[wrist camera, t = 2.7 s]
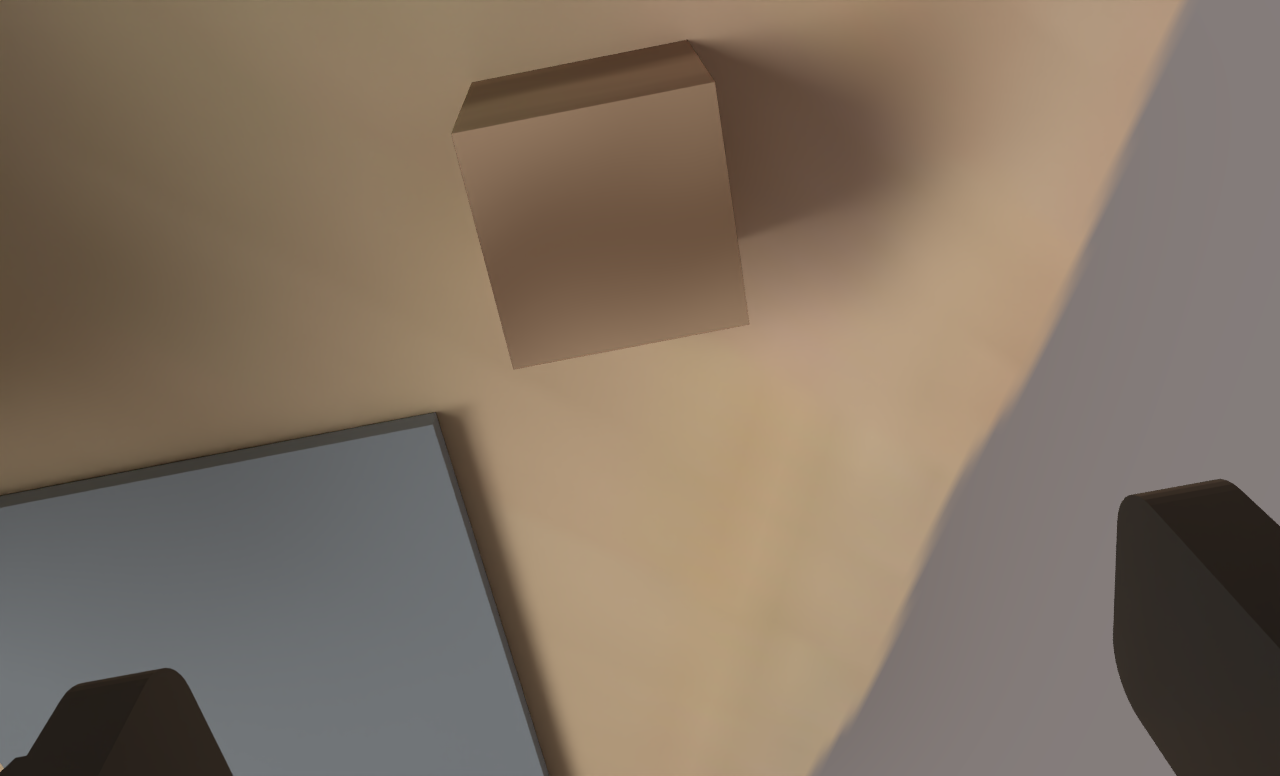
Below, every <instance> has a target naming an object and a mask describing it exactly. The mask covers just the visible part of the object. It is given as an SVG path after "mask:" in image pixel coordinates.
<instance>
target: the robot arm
mask: <svg viewBox="0 0 1280 776" xmlns="http://www.w3.org/2000/svg"><path fill="white" fill-rule="evenodd" d="M1113 644H1114V653H1115V659H1116V664H1117V668H1118V672H1119V676H1120V679H1121V682H1122V685H1123V688H1124V690H1125V693H1126V695H1127V698H1128V700H1129V702H1130V704H1131V706H1132V708H1133V710H1134V712H1135V713H1136V715H1137V716H1138V718H1139V720H1140V721H1141V723H1142V724H1143V726H1144V727H1145V729H1146V730H1147V732H1148V733H1149V735H1150V736H1151V738H1152V739H1153V741H1154V742H1155V744H1156V745H1157V747H1158V748H1159V750H1160V751H1161V753H1162V754H1163V756H1164V757H1165V759H1166V760H1167V762H1168V763H1169V765H1170V766H1171V768H1172V769H1173V771H1174V772H1175V774H1176V775H1177V776H1280V526H1279V525H1278V524H1277V523H1276V522H1275V521H1273V519H1271V518H1270V517H1269V516H1268V515H1267V514H1266V513H1265V512H1264V511H1263V510H1262V509H1261V508H1260V507H1259V506H1257V505H1256V504H1255V503H1254V502H1253V501H1252V500H1251V499H1250V498H1249V497H1248V496H1247V495H1246V494H1245V493H1244V492H1243V491H1241V490H1240V489H1239V488H1238V487H1237V486H1235V485H1234V484H1233V483H1231V482H1229V481H1227V480H1223V479H1217V480H1211V481H1205V482H1200V483H1194V484H1189V485H1183V486H1178V487H1172V488H1167V489H1161V490H1156V491H1151V492H1145V493H1140V494H1134V495H1129V496H1127V497H1125V499H1124V500H1123V501H1122V503H1121V505H1120V508H1119V512H1118V521H1117V544H1116V572H1115V599H1114V626H1113ZM0 776H233V774H232V772H231V770H230V768H229V766H228V764H227V762H226V760H225V758H224V756H223V754H222V752H221V750H220V748H219V746H218V744H217V742H216V740H215V738H214V736H213V734H212V732H211V730H210V728H209V726H208V724H207V722H206V720H205V718H204V716H203V714H202V712H201V709H200V707H199V705H198V703H197V701H196V699H195V697H194V695H193V693H192V691H191V689H190V687H189V686H188V684H187V682H186V680H185V679H184V678H183V677H182V676H181V674H179V673H178V672H177V671H175V670H173V669H171V668H161V669H156V670H150V671H145V672H139V673H134V674H128V675H123V676H117V677H112V678H106V679H101V680H95V681H90V682H84V683H80V684H77V685H75V686H73V687H72V688H70V689H69V690H68V691H67V692H66V693H65V695H64V696H63V697H62V699H61V700H60V702H59V703H58V705H57V707H56V708H55V710H54V712H53V713H52V715H51V716H50V718H49V720H48V721H47V723H46V725H45V726H44V728H43V730H42V731H41V733H40V734H39V736H38V738H37V739H36V741H35V743H34V744H33V746H32V748H31V749H30V751H29V753H28V754H27V756H22V757H16V758H14V759H13V760H12V761H11V762H10V763H9V764H8V765H7V766H6V767H5V768H4V769H3V770H2V771H1V772H0Z"/></svg>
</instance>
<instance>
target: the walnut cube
mask: <svg viewBox="0 0 1280 776" xmlns="http://www.w3.org/2000/svg"><path fill="white" fill-rule="evenodd" d="M451 135H452V139H453V143H454V146H455V150H456V154H457V158H458V162H459V165H460V169H461V173H462V177H463V180H464V184H465V188H466V192H467V196H468V199H469V203H470V207H471V211H472V214H473V218H474V222H475V226H476V230H477V233H478V237H479V241H480V245H481V249H482V252H483V256H484V260H485V264H486V267H487V271H488V275H489V279H490V283H491V286H492V290H493V294H494V298H495V301H496V305H497V309H498V313H499V317H500V320H501V324H502V328H503V332H504V335H505V339H506V343H507V347H508V351H509V354H510V358H511V362H512V366H513V369H519V368H524V367H529V366H534V365H540V364H545V363H550V362H555V361H561V360H566V359H571V358H576V357H581V356H587V355H592V354H597V353H602V352H608V351H613V350H618V349H623V348H629V347H634V346H639V345H644V344H650V343H655V342H660V341H665V340H671V339H676V338H681V337H686V336H692V335H697V334H702V333H707V332H713V331H718V330H723V329H728V328H733V327H739V326H744V325H749V324H750V323H749V316H748V309H747V302H746V295H745V289H744V282H743V275H742V268H741V261H740V254H739V247H738V240H737V233H736V226H735V219H734V212H733V205H732V198H731V191H730V184H729V177H728V170H727V163H726V156H725V149H724V142H723V135H722V128H721V121H720V114H719V107H718V100H717V93H716V86H715V81H714V80H713V78H712V77H711V75H710V74H709V72H708V71H707V69H706V68H705V66H704V65H703V63H702V61H701V60H700V58H699V57H698V55H697V54H696V52H695V51H694V49H693V48H692V46H691V45H690V43H689V42H688V40H684V41H679V42H674V43H669V44H664V45H659V46H654V47H649V48H644V49H639V50H634V51H628V52H623V53H618V54H613V55H608V56H603V57H598V58H593V59H588V60H583V61H578V62H573V63H568V64H563V65H558V66H553V67H548V68H543V69H538V70H533V71H528V72H523V73H517V74H512V75H507V76H502V77H497V78H492V79H487V80H482V81H477V82H472V84H471V86H470V89H469V91H468V94H467V96H466V98H465V101H464V103H463V106H462V108H461V111H460V113H459V116H458V118H457V121H456V123H455V126H454V128H453V131H452V133H451Z"/></svg>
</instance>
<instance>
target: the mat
mask: <svg viewBox="0 0 1280 776" xmlns="http://www.w3.org/2000/svg"><path fill="white" fill-rule="evenodd" d="M161 668H171V669H173V670H175V671H177V672H178V673H179V674H181V676H182V677H183V678H184V679H185V680H186V682H187V684H188V686H189V687H190V689H191V691H192V693H193V695H194V697H195V699H196V701H197V703H198V705H199V707H200V709H201V712H202V714H203V716H204V718H205V720H206V722H207V724H208V726H209V728H210V730H211V732H212V734H213V736H214V738H215V740H216V742H217V744H218V746H219V748H220V750H221V752H222V754H223V756H224V758H225V760H226V762H227V764H228V766H229V768H230V770H231V772H232V774H233V776H549V774H548V770H547V767H546V764H545V761H544V758H543V754H542V751H541V748H540V745H539V742H538V738H537V735H536V732H535V729H534V726H533V722H532V719H531V716H530V713H529V710H528V706H527V703H526V700H525V697H524V694H523V690H522V687H521V684H520V681H519V678H518V674H517V671H516V668H515V665H514V662H513V658H512V655H511V652H510V649H509V646H508V642H507V639H506V636H505V633H504V630H503V627H502V623H501V620H500V617H499V614H498V611H497V607H496V604H495V601H494V598H493V595H492V591H491V588H490V585H489V582H488V579H487V575H486V572H485V569H484V566H483V563H482V559H481V556H480V553H479V550H478V547H477V543H476V540H475V537H474V534H473V531H472V527H471V524H470V521H469V518H468V515H467V511H466V508H465V505H464V502H463V499H462V495H461V492H460V489H459V486H458V483H457V479H456V476H455V473H454V470H453V467H452V463H451V460H450V457H449V454H448V451H447V447H446V444H445V441H444V438H443V435H442V431H441V428H440V425H439V422H438V419H437V415H436V412H435V413H430V414H424V415H419V416H414V417H409V418H404V419H398V420H393V421H388V422H383V423H378V424H372V425H367V426H362V427H357V428H352V429H347V430H341V431H336V432H331V433H326V434H321V435H315V436H310V437H305V438H300V439H295V440H289V441H284V442H279V443H274V444H269V445H263V446H258V447H253V448H248V449H243V450H237V451H232V452H227V453H222V454H217V455H211V456H206V457H201V458H196V459H191V460H186V461H180V462H175V463H170V464H165V465H160V466H154V467H149V468H144V469H139V470H134V471H128V472H123V473H118V474H113V475H108V476H102V477H97V478H92V479H87V480H82V481H76V482H71V483H66V484H61V485H56V486H51V487H45V488H40V489H35V490H30V491H25V492H19V493H14V494H9V495H4V496H0V763H1V764H2V766H3V767H4V768H5V767H6V766H7V765H8V764H9V763H10V762H11V761H12V760H13V759H14V758H16V757H22V756H27V754H28V753H29V751H30V749H31V748H32V746H33V744H34V743H35V741H36V739H37V738H38V736H39V734H40V733H41V731H42V730H43V728H44V726H45V725H46V723H47V721H48V720H49V718H50V716H51V715H52V713H53V712H54V710H55V708H56V707H57V705H58V703H59V702H60V700H61V699H62V697H63V696H64V695H65V693H66V692H67V691H68V690H69V689H70V688H72V687H73V686H75V685H77V684H80V683H84V682H90V681H95V680H101V679H106V678H112V677H117V676H123V675H128V674H134V673H139V672H145V671H150V670H156V669H161Z"/></svg>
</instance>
